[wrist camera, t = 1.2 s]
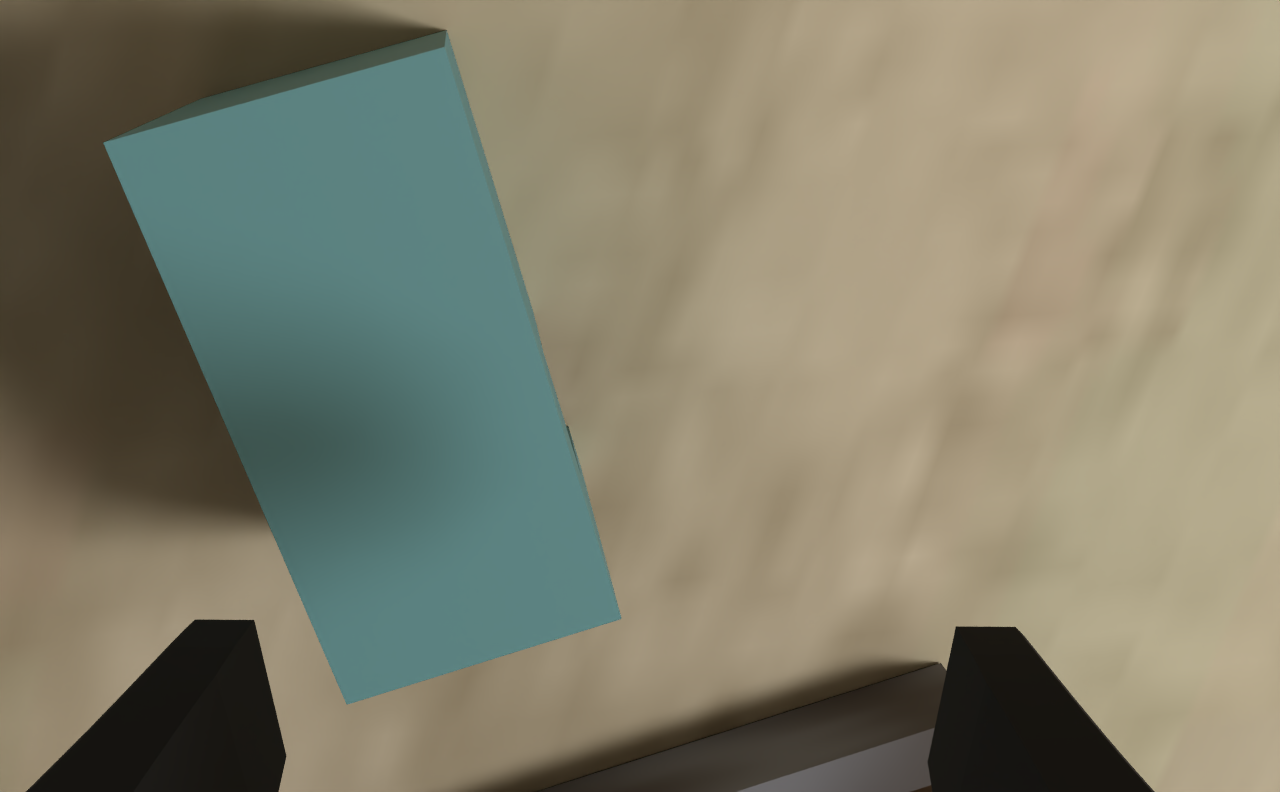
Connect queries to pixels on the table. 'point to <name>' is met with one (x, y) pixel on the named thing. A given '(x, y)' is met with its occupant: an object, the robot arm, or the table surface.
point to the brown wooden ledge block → (802, 748)
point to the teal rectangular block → (375, 360)
